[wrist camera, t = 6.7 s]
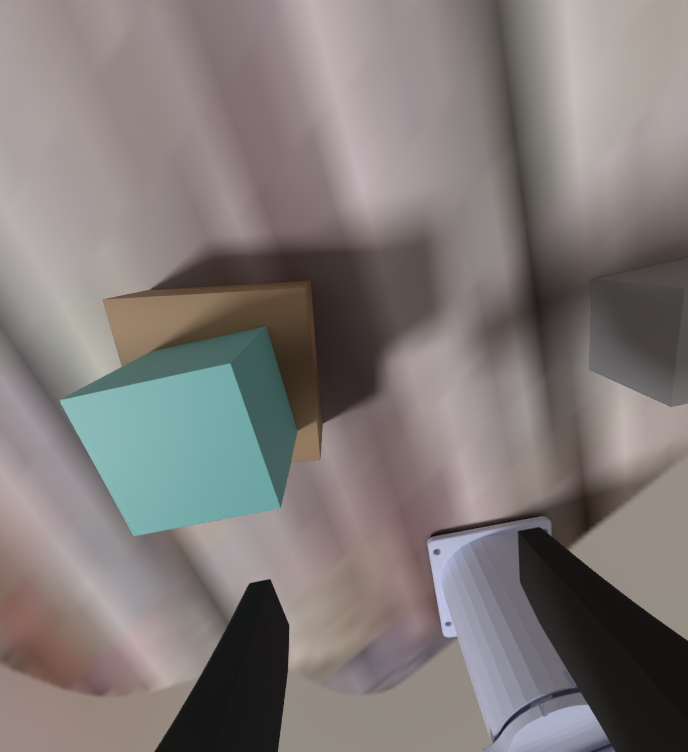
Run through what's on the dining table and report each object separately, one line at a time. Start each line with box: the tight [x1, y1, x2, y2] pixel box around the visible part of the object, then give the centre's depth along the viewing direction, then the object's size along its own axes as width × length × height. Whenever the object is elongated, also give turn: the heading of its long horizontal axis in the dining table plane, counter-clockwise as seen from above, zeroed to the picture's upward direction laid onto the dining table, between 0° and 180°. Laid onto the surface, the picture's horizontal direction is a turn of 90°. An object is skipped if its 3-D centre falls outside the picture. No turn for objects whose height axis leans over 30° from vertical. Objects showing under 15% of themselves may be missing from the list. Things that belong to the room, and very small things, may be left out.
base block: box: [103, 281, 323, 462], centre depth 17 cm, size 8×8×4 cm
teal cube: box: [59, 326, 298, 536], centre depth 13 cm, size 5×5×5 cm
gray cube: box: [589, 257, 688, 407], centre depth 16 cm, size 5×5×5 cm
